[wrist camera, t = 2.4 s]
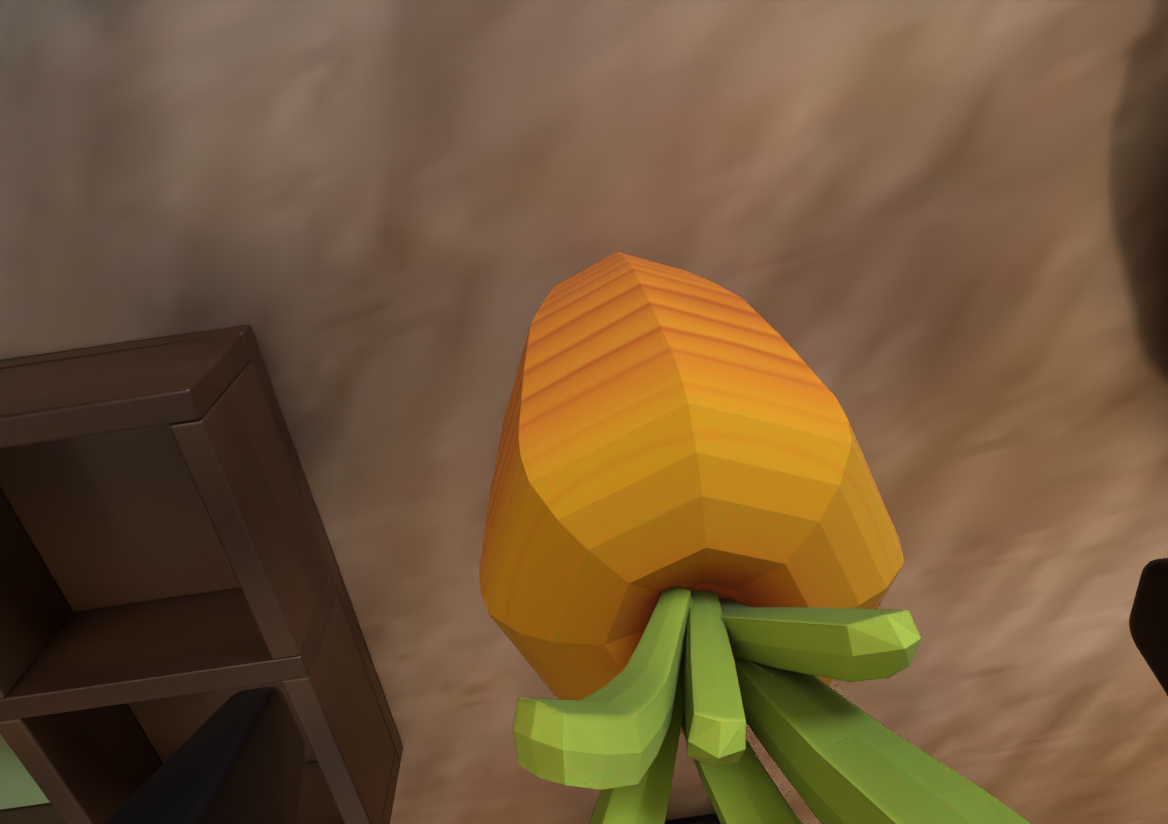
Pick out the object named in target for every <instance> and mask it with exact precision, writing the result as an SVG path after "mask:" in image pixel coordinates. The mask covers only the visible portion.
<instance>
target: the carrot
mask: <svg viewBox="0 0 1168 824" xmlns="http://www.w3.org/2000/svg"><path fill="white" fill-rule="evenodd" d="M903 564H904V559H903V554H902V549H901V545H900V540H899V538H898V535H897V533H896V531H895V528H894V526H893V524H892V521H891V519H890V517H889V514H888V512H887V510H886V507H885V505H884V503H883V500H882V498H881V496H880V493H879V491H878V489H877V487H876V484H875V482H874V480H873V477H872V475H871V473H870V470H869V468H868V466H867V463H866V461H865V459H864V456H863V454H862V452H861V449H860V447H859V445H858V442H857V440H856V438H855V435H854V433H853V431H852V428H851V426H850V424H849V421H848V419H847V417H846V415H845V413H844V411H843V409H842V408H841V406H840V404H839V402H838V400H837V399H836V397H835V396H834V395H833V394H832V393H831V391H830V390H829V389H828V388H827V387H826V386H825V385H824V384H823V383H822V381H821V380H820V379H819V378H818V377H817V376H816V375H815V374H814V372H813V371H812V370H811V369H810V368H809V367H808V366H807V365H806V363H805V362H804V361H803V360H802V359H801V358H800V357H799V356H798V355H797V353H796V352H795V351H794V350H793V349H792V348H791V347H790V346H789V344H788V343H787V342H786V341H785V340H784V339H783V338H782V337H781V336H780V335H779V334H778V333H777V332H776V331H775V330H774V329H773V328H772V327H771V326H770V325H769V324H768V323H767V322H766V321H765V320H764V319H763V318H762V317H761V316H760V315H759V314H758V313H757V312H756V311H755V310H754V309H753V308H752V307H751V306H750V305H749V304H748V303H747V302H746V301H745V300H743V299H742V298H741V297H739V296H737V295H735V294H734V293H732V292H730V291H728V290H726V289H724V288H723V287H721V286H719V285H717V284H715V283H713V282H712V281H709V280H707V279H704V278H702V277H700V276H697V275H695V274H692V273H690V272H687V271H685V270H682V269H678V268H674V267H671V266H667V265H664V264H660V263H656V262H653V261H649V260H646V259H642V258H638V257H635V256H631V255H628V254H624V253H620V252H615V253H614V254H612V255H610V256H608V257H606V258H605V259H603V260H601V261H599V262H597V263H595V264H594V265H592V266H590V267H588V268H586V269H585V270H583V271H581V272H579V273H577V274H575V275H574V276H572V277H570V278H568V279H566V280H565V281H563V282H561V283H559V284H557V285H555V286H554V287H553V289H552V290H551V291H550V293H549V294H548V295H547V297H546V298H545V299H544V301H543V302H542V304H541V306H540V308H539V310H538V312H537V313H536V315H535V317H534V319H533V321H532V323H531V326H530V329H529V333H528V337H527V340H526V344H525V347H524V351H523V355H522V358H521V362H520V365H519V369H518V373H517V376H516V380H515V383H514V387H513V391H512V394H511V398H510V402H509V405H508V409H507V412H506V416H505V420H504V424H503V429H502V434H501V439H500V444H499V449H498V455H497V460H496V465H495V470H494V475H493V480H492V486H491V493H490V500H489V507H488V514H487V521H486V529H485V536H484V543H483V550H482V557H481V564H480V584H481V593H482V596H483V599H484V601H485V604H486V607H487V610H488V612H489V614H490V616H491V617H492V618H493V619H494V621H495V622H496V623H497V624H498V625H499V627H500V628H501V629H502V630H503V632H504V633H505V634H506V635H507V637H508V638H509V639H510V640H511V641H512V643H513V644H514V645H515V646H516V648H517V649H518V650H519V651H520V652H521V654H522V655H523V656H524V657H525V659H526V660H527V661H528V662H529V664H530V665H531V666H532V667H533V668H534V670H535V671H536V672H537V673H538V675H539V676H540V677H541V678H542V680H543V681H544V682H545V683H546V684H547V686H548V687H549V688H550V689H551V691H552V692H553V693H554V694H555V696H556V697H557V698H558V699H542V698H520V697H518V699H517V706H516V713H515V720H514V727H513V732H514V738H515V744H516V750H517V756H518V762H519V765H521V766H522V767H523V768H525V769H526V770H528V771H529V772H531V773H532V774H533V775H535V776H536V777H538V778H541V779H545V780H549V781H552V782H556V783H559V784H563V785H569V786H577V787H584V788H592V789H600V790H601V792H600V795H599V797H598V800H597V803H596V806H595V808H594V811H593V814H592V817H591V819H590V822H589V824H664V823H665V818H666V812H667V807H668V801H669V796H670V790H671V784H672V778H673V772H674V766H675V759H676V753H677V747H678V741H679V734H680V732H681V733H684V736H685V738H686V741H687V756H689V757H691V758H693V759H694V762H695V764H696V767H697V769H698V772H699V775H700V777H701V780H702V782H703V785H704V787H705V789H706V792H707V794H708V796H709V798H710V801H711V803H712V805H713V807H714V810H715V812H716V814H717V816H718V818H719V821H720V823H721V824H803V823H802V822H801V821H800V820H799V819H798V818H797V817H796V815H795V814H794V812H793V811H792V809H791V808H790V806H789V805H788V803H787V802H786V800H785V799H784V797H783V796H782V794H781V793H780V791H779V790H778V788H777V787H776V785H775V784H774V782H773V781H772V779H771V778H770V776H769V775H768V773H767V772H766V770H765V769H764V767H763V766H762V764H761V763H760V761H759V759H758V758H757V756H756V755H755V753H754V751H753V750H752V748H751V746H750V745H749V743H748V741H747V740H746V722H747V723H748V725H749V726H750V728H751V729H752V731H753V732H754V734H755V735H756V736H757V738H758V739H759V741H760V742H761V744H762V745H763V746H764V748H765V749H766V751H767V752H768V754H769V755H770V756H771V758H772V759H773V760H774V762H775V763H776V764H777V766H778V767H779V768H780V770H781V771H782V772H783V774H784V775H785V776H786V778H787V779H788V780H789V782H790V783H791V784H792V786H793V787H794V788H795V789H796V791H797V792H798V793H799V795H800V796H801V797H802V799H803V800H804V801H805V803H806V804H807V805H808V807H809V808H810V809H811V811H812V812H813V813H814V815H815V816H816V817H817V818H818V819H819V820H820V822H821V823H822V824H1031V823H1029V822H1028V821H1027V820H1025V819H1024V818H1022V817H1021V816H1020V815H1018V814H1017V813H1015V812H1014V811H1013V810H1011V809H1010V808H1008V807H1007V806H1006V805H1004V804H1003V803H1001V802H1000V801H999V800H997V799H996V798H994V797H993V796H992V795H990V794H989V793H987V792H986V791H985V790H983V789H982V788H980V787H979V786H978V785H976V784H975V783H973V782H971V781H970V780H968V779H967V778H965V777H963V776H962V775H960V774H959V773H957V772H955V771H954V770H952V769H951V768H949V767H948V766H946V765H944V764H943V763H941V762H940V761H938V760H936V759H935V758H933V757H932V756H930V755H928V754H927V753H925V752H924V751H922V750H920V749H919V748H917V747H916V746H914V745H912V744H911V743H909V742H908V741H906V740H904V739H903V738H901V737H900V736H898V735H896V734H895V733H893V732H892V731H890V730H889V729H887V728H886V727H885V726H883V725H882V724H880V723H879V722H878V721H876V720H875V719H873V718H872V717H871V716H869V715H868V714H866V713H865V712H864V711H862V710H861V709H860V708H858V707H857V706H855V705H854V704H853V703H851V702H850V701H848V700H847V699H846V698H844V697H843V696H841V695H840V694H839V693H837V692H836V691H834V690H833V689H832V688H830V687H829V685H830V684H831V683H832V682H833V680H834V679H837V680H842V681H848V682H853V681H863V680H873V679H883V678H889V677H891V676H893V675H894V674H896V673H898V672H900V671H901V670H903V669H905V668H907V667H909V666H910V664H911V662H912V659H913V657H914V654H915V652H916V650H917V647H918V645H919V642H920V640H921V637H920V634H919V632H918V630H917V628H916V625H915V623H914V621H913V619H912V616H911V614H910V612H909V610H890V609H877V608H878V606H879V605H880V603H881V601H882V599H883V598H884V596H885V594H886V593H887V591H888V589H889V588H890V586H891V584H892V583H893V581H894V579H895V578H896V576H897V574H898V573H899V571H900V569H901V568H902V566H903Z"/></svg>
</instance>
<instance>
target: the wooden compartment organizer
mask: <svg viewBox="0 0 1168 824" xmlns="http://www.w3.org/2000/svg"><path fill="white" fill-rule="evenodd" d="M269 686H273V687H277V688H279V689H280V690H281V691H282V692H283V694H284V695H285V697H286V700H287V702H288V704H289V706H290V708H291V711H292V713H293V715H294V717H295V720H296V722H297V724H298V726H299V728H300V731H301V733H302V735H303V738H304V742H305V748H306V762H305V770H304V777H303V784H302V791H301V798H300V805H299V812H298V819H297V824H390V818H391V813H392V807H393V802H394V796H395V791H396V785H397V779H398V774H399V768H400V761H401V756H402V751H403V748H402V745H401V742H400V739H399V737H398V734H397V731H396V728H395V725H394V723H393V720H392V717H391V714H390V712H389V709H388V706H387V703H386V701H385V698H384V695H383V692H382V689H381V687H380V684H379V681H378V678H377V676H376V673H375V670H374V667H373V665H372V662H371V659H370V656H369V653H368V651H367V648H366V645H365V642H364V640H363V637H362V634H361V631H360V629H359V626H358V623H357V620H356V617H355V615H354V612H353V609H352V606H351V604H350V601H349V598H348V595H347V593H346V590H345V587H344V584H343V581H342V579H341V576H340V573H339V570H338V568H337V565H336V562H335V559H334V557H333V554H332V551H331V548H330V545H329V543H328V540H327V537H326V534H325V532H324V529H323V526H322V523H321V521H320V518H319V515H318V512H317V509H316V507H315V504H314V501H313V498H312V496H311V493H310V490H309V487H308V485H307V482H306V479H305V476H304V473H303V471H302V468H301V465H300V462H299V460H298V457H297V454H296V451H295V449H294V446H293V443H292V440H291V438H290V435H289V432H288V429H287V426H286V424H285V421H284V418H283V415H282V413H281V410H280V407H279V404H278V402H277V399H276V396H275V393H274V390H273V388H272V385H271V382H270V379H269V377H268V374H267V371H266V368H265V366H264V363H263V360H262V357H261V354H260V352H259V349H258V346H257V343H256V341H255V338H254V335H253V332H252V330H251V327H250V325H243V326H236V327H229V328H222V329H215V330H209V331H202V332H195V333H188V334H181V335H175V336H168V337H161V338H154V339H147V340H140V341H134V342H127V343H120V344H113V345H106V346H100V347H93V348H86V349H79V350H72V351H66V352H59V353H52V354H45V355H38V356H32V357H25V358H18V359H11V360H4V361H0V824H103V823H104V822H105V821H106V820H107V819H108V818H109V817H110V816H111V815H112V814H113V813H114V812H115V811H116V810H117V809H118V808H119V807H120V806H121V805H122V804H123V803H124V802H125V801H126V800H127V799H128V798H129V797H130V796H131V795H132V794H133V793H134V792H136V791H137V790H138V789H139V788H140V787H141V786H142V785H143V784H144V783H145V782H146V781H147V780H148V779H149V778H150V777H151V776H152V775H153V774H154V773H155V772H156V771H157V770H158V769H159V768H160V767H161V766H162V765H163V764H164V763H165V762H166V761H167V760H168V759H169V758H170V757H171V756H172V755H173V754H174V753H175V752H176V751H177V750H178V749H179V748H180V747H181V746H182V745H183V744H184V743H185V742H186V741H187V740H188V739H189V738H190V737H191V736H192V735H193V734H194V733H195V732H196V731H197V730H198V729H199V728H200V727H201V726H202V725H203V724H204V723H205V722H206V721H207V720H208V719H209V718H210V717H211V716H212V715H213V714H214V713H215V712H216V711H217V710H218V709H219V708H220V707H221V706H222V705H223V704H224V703H225V702H226V701H227V700H228V699H229V698H230V697H231V696H233V695H234V694H235V693H237V692H239V691H242V690H248V689H255V688H262V687H269Z"/></svg>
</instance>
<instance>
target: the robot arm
mask: <svg viewBox="0 0 1168 824" xmlns="http://www.w3.org/2000/svg"><path fill="white" fill-rule="evenodd" d="M1129 627H1130V631H1131V635H1132V638H1133V640H1134V642H1135V644H1136V646H1137V648H1138V649H1139V651H1140V653H1141V654H1142V656H1143V657H1144V659H1145V660H1146V662H1147V664H1148V665H1149V667H1150V668H1151V670H1152V672H1153V673H1154V675H1155V676H1156V678H1157V679H1158V681H1159V683H1160V684H1161V686H1162V687H1163V689H1164V690H1165V692H1166V694H1167V695H1168V558H1163V559H1156V560H1153V561H1150V562H1149V563H1148V564H1147V565H1146V566H1145V567H1144V569H1143V571H1142V574H1141V577H1140V581H1139V585H1138V588H1137V592H1136V596H1135V599H1134V603H1133V606H1132V610H1131V614H1130V619H1129ZM305 762H306V748H305V742H304V738H303V735H302V733H301V731H300V728H299V726H298V724H297V722H296V720H295V717H294V715H293V713H292V711H291V708H290V706H289V704H288V702H287V700H286V697H285V695H284V694H283V692H282V691H281V690H280V689H279V688H277V687H273V686H269V687H262V688H255V689H248V690H242V691H239V692H237V693H235V694H234V695H233V696H231V697H230V698H229V699H228V700H227V701H226V702H225V703H224V704H223V705H222V706H221V707H220V708H219V709H218V710H217V711H216V712H215V713H214V714H213V715H212V716H211V717H210V718H209V719H208V720H207V721H206V722H205V723H204V724H203V725H202V726H201V727H200V728H199V729H198V730H197V731H196V732H195V733H194V734H193V735H192V736H191V737H190V738H189V739H188V740H187V741H186V742H185V743H184V744H183V745H182V746H181V747H180V748H179V749H178V750H177V751H176V752H175V753H174V754H173V755H172V756H171V757H170V758H169V759H168V760H167V761H166V762H165V763H164V764H163V765H162V766H161V767H160V768H159V769H158V770H157V771H156V772H155V773H154V774H153V775H152V776H151V777H150V778H149V779H148V780H147V781H146V782H145V783H144V784H143V785H142V786H141V787H140V788H139V789H138V790H137V791H136V792H134V793H133V794H132V795H131V796H130V797H129V798H128V799H127V800H126V801H125V802H124V803H123V804H122V805H121V806H120V807H119V808H118V809H117V810H116V811H115V812H114V813H113V814H112V815H111V816H110V817H109V818H108V819H107V820H106V821H105V822H104V823H103V824H297V819H298V812H299V805H300V798H301V791H302V784H303V777H304V770H305ZM664 824H721V823H720V821H719V818H718V816H717V814H710V815H703V816H696V817H689V818H682V819H675V820H668V821H665V823H664Z"/></svg>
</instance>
